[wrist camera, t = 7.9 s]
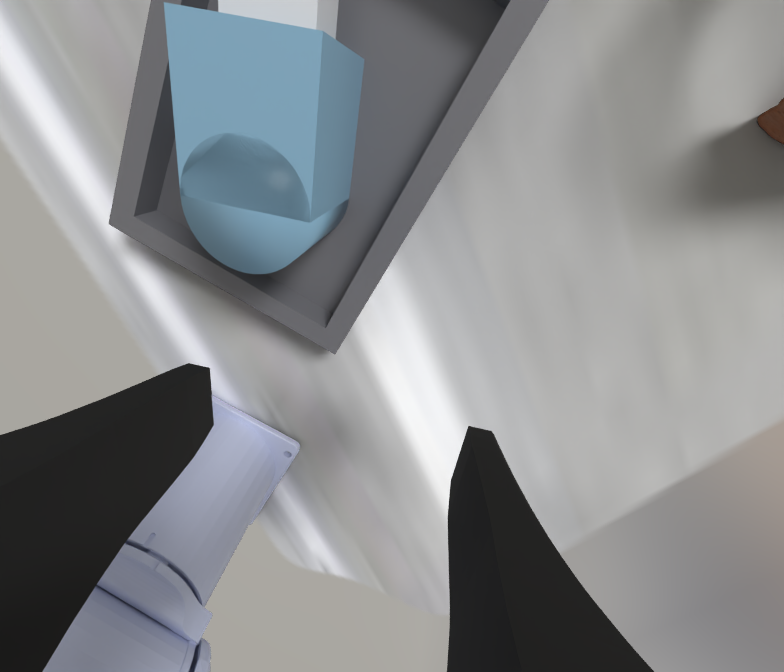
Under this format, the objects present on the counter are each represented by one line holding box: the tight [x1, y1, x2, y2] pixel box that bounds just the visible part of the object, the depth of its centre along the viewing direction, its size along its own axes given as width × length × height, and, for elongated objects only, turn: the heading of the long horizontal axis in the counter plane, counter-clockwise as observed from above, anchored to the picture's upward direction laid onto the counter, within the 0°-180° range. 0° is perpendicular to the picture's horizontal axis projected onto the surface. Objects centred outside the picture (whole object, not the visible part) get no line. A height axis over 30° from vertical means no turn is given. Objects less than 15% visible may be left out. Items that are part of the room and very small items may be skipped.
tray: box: [109, 0, 549, 354], centre depth 16 cm, size 16×12×2 cm
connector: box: [164, 0, 364, 274], centre depth 14 cm, size 10×4×5 cm, turn 171°
